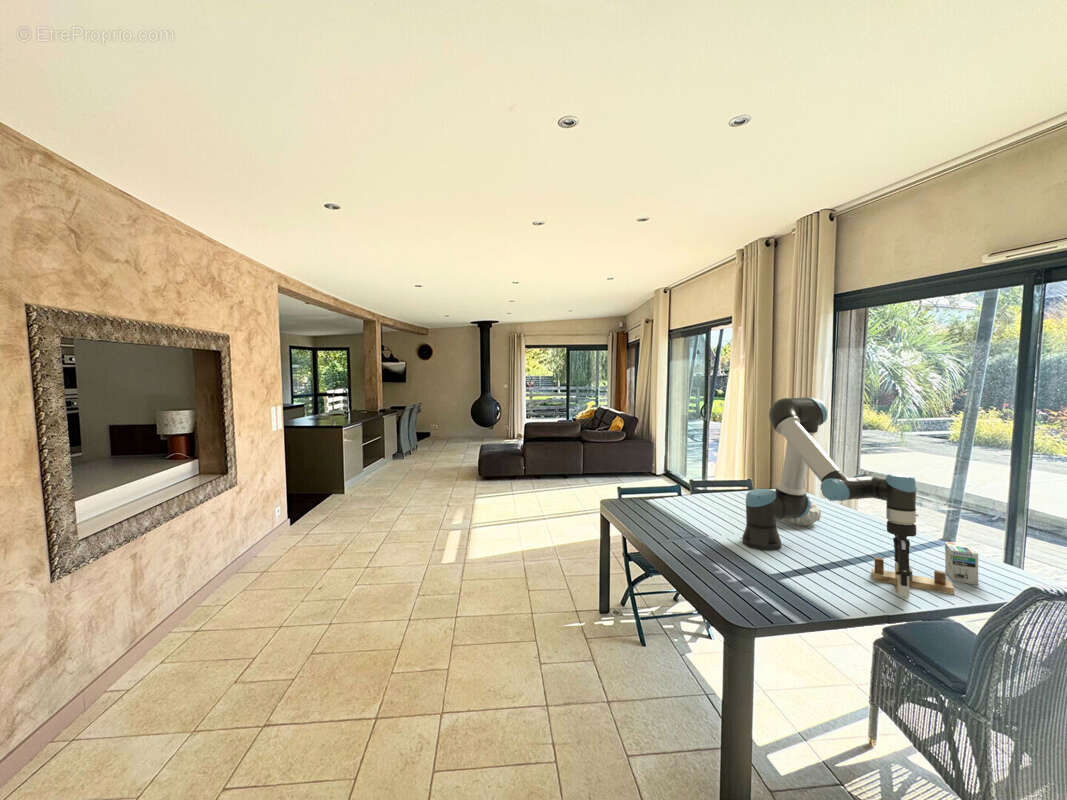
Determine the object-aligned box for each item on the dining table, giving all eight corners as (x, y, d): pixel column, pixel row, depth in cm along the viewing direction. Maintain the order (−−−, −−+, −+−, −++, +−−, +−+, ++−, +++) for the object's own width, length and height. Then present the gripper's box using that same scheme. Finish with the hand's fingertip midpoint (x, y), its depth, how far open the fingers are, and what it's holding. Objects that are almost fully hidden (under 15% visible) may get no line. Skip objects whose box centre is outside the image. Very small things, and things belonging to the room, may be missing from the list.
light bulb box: (979, 585, 149) (979, 553, 149) (952, 581, 153) (952, 550, 152) (969, 574, 158) (969, 544, 158) (944, 570, 162) (944, 541, 161)
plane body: (872, 579, 155) (872, 560, 155) (871, 573, 160) (871, 554, 160) (954, 594, 143) (954, 572, 143) (950, 587, 148) (950, 566, 148)
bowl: (832, 529, 210) (832, 508, 210) (789, 530, 210) (788, 509, 210) (806, 517, 231) (805, 498, 231) (766, 518, 231) (766, 499, 231)
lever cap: (897, 593, 145) (897, 572, 145) (895, 585, 150) (895, 564, 150) (909, 596, 143) (909, 573, 143) (906, 587, 149) (906, 566, 149)
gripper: (921, 532, 134) (921, 605, 134) (911, 515, 153) (912, 579, 153) (889, 528, 139) (890, 598, 139) (884, 512, 158) (884, 574, 158)
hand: (901, 588), depth 146 cm, fingers open, 10 cm apart
